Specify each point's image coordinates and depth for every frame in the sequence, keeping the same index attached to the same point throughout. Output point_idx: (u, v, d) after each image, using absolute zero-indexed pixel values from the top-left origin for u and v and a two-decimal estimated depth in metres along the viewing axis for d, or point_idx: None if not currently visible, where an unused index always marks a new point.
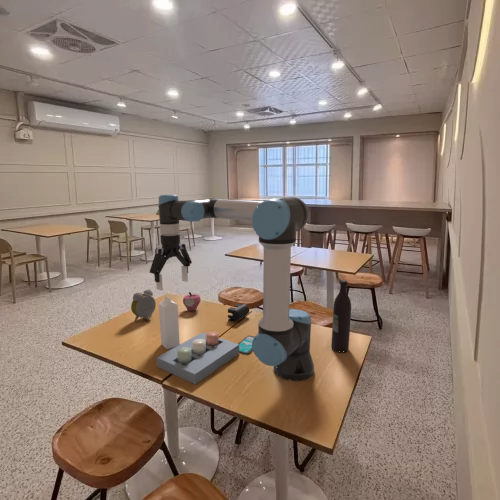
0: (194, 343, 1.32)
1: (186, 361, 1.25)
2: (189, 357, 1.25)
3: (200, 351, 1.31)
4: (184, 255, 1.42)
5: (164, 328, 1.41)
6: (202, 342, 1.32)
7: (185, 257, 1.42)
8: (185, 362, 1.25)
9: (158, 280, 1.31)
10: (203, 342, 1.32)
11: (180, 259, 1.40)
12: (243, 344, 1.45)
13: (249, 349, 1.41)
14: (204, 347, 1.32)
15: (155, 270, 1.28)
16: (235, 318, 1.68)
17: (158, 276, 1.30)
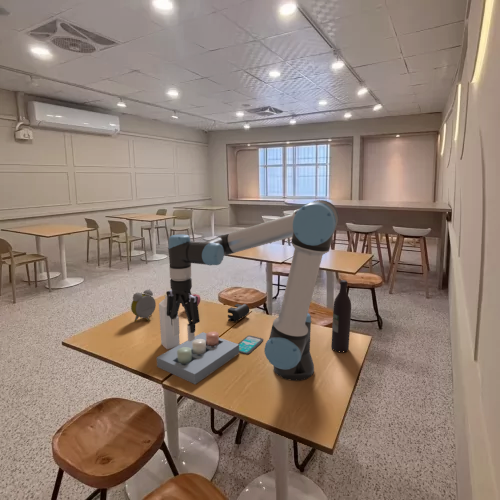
0: (194, 343, 1.32)
1: (186, 361, 1.25)
2: (189, 357, 1.25)
3: (200, 351, 1.31)
4: None
5: (164, 328, 1.41)
6: (202, 342, 1.32)
7: None
8: (185, 362, 1.25)
9: None
10: (203, 342, 1.32)
11: None
12: (243, 344, 1.45)
13: (249, 349, 1.41)
14: (204, 347, 1.32)
15: (167, 312, 1.26)
16: (235, 318, 1.68)
17: None
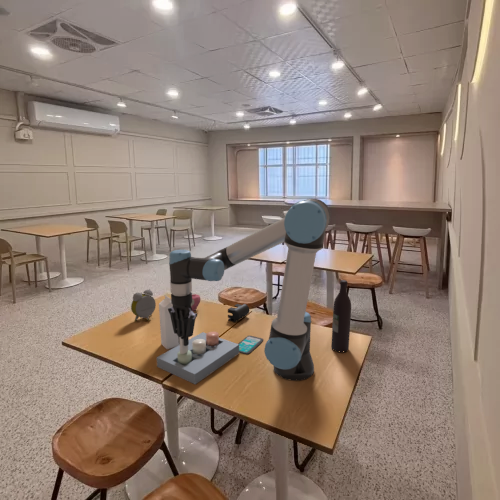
0: (194, 343, 1.32)
1: (186, 364, 1.25)
2: (189, 360, 1.25)
3: (200, 351, 1.31)
4: None
5: (164, 328, 1.41)
6: (202, 342, 1.32)
7: None
8: None
9: (179, 342, 1.26)
10: (203, 342, 1.32)
11: None
12: (243, 344, 1.45)
13: (249, 349, 1.41)
14: (204, 347, 1.32)
15: (174, 330, 1.25)
16: (235, 318, 1.68)
17: None
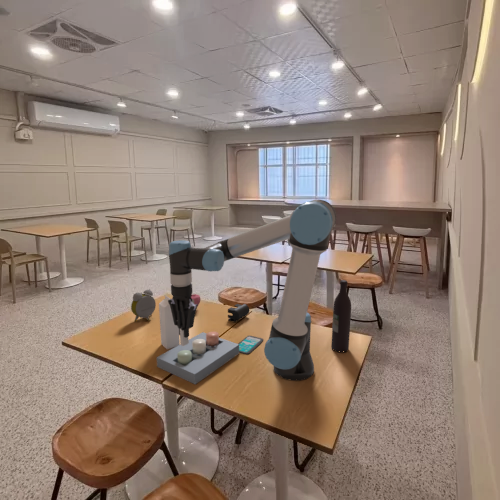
0: (194, 343, 1.32)
1: (186, 364, 1.25)
2: (189, 360, 1.25)
3: (200, 351, 1.31)
4: None
5: (164, 328, 1.41)
6: (202, 342, 1.32)
7: None
8: None
9: None
10: (203, 342, 1.32)
11: None
12: (243, 344, 1.45)
13: (249, 349, 1.41)
14: (204, 347, 1.32)
15: (174, 321, 1.25)
16: (235, 318, 1.68)
17: (180, 330, 1.25)
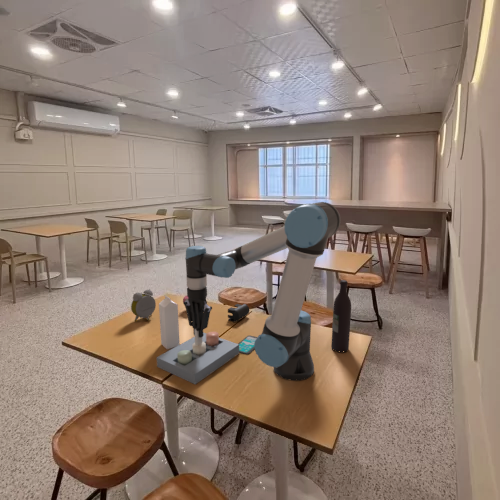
0: (194, 345, 1.32)
1: (186, 364, 1.25)
2: (189, 360, 1.25)
3: (200, 353, 1.31)
4: None
5: (164, 328, 1.41)
6: (202, 344, 1.33)
7: None
8: None
9: (194, 334, 1.32)
10: (203, 344, 1.33)
11: None
12: (243, 344, 1.46)
13: (249, 349, 1.41)
14: (204, 350, 1.32)
15: (189, 322, 1.32)
16: (235, 318, 1.68)
17: (194, 330, 1.32)
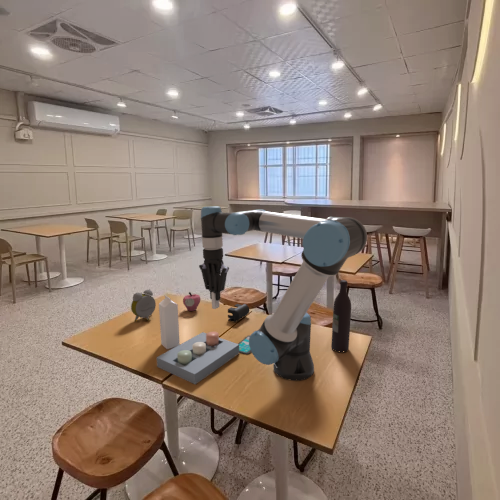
0: (194, 346, 1.32)
1: (186, 364, 1.25)
2: (189, 360, 1.25)
3: (200, 354, 1.31)
4: None
5: (164, 328, 1.41)
6: (202, 345, 1.33)
7: None
8: None
9: (211, 297, 1.30)
10: (203, 345, 1.33)
11: None
12: (243, 344, 1.46)
13: (249, 349, 1.41)
14: (204, 350, 1.32)
15: (206, 286, 1.30)
16: (235, 318, 1.68)
17: None
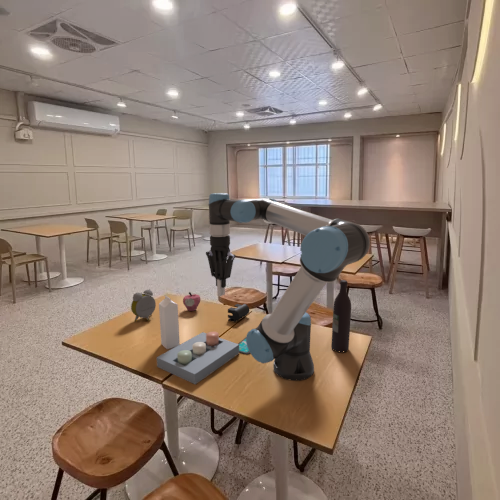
0: (194, 346, 1.32)
1: (186, 364, 1.25)
2: (189, 360, 1.25)
3: (200, 354, 1.31)
4: None
5: (164, 328, 1.41)
6: (202, 345, 1.33)
7: None
8: None
9: None
10: (203, 345, 1.33)
11: None
12: (243, 344, 1.46)
13: None
14: (204, 350, 1.32)
15: (212, 273, 1.30)
16: (235, 318, 1.68)
17: (217, 280, 1.30)
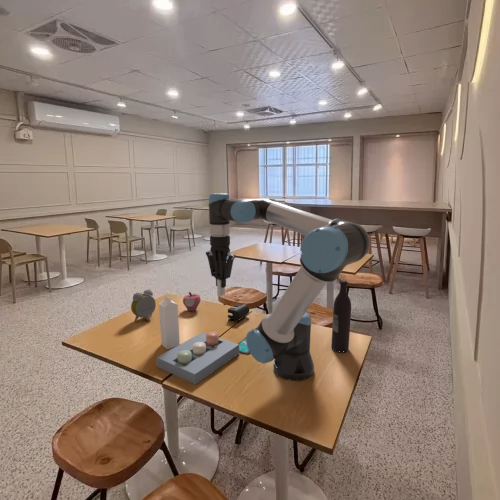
0: (194, 346, 1.32)
1: (186, 364, 1.25)
2: (189, 360, 1.25)
3: (200, 354, 1.31)
4: None
5: (164, 328, 1.41)
6: (202, 345, 1.33)
7: None
8: None
9: None
10: (203, 345, 1.33)
11: None
12: (243, 344, 1.46)
13: None
14: (204, 350, 1.32)
15: (212, 273, 1.30)
16: (235, 318, 1.68)
17: (217, 280, 1.30)
